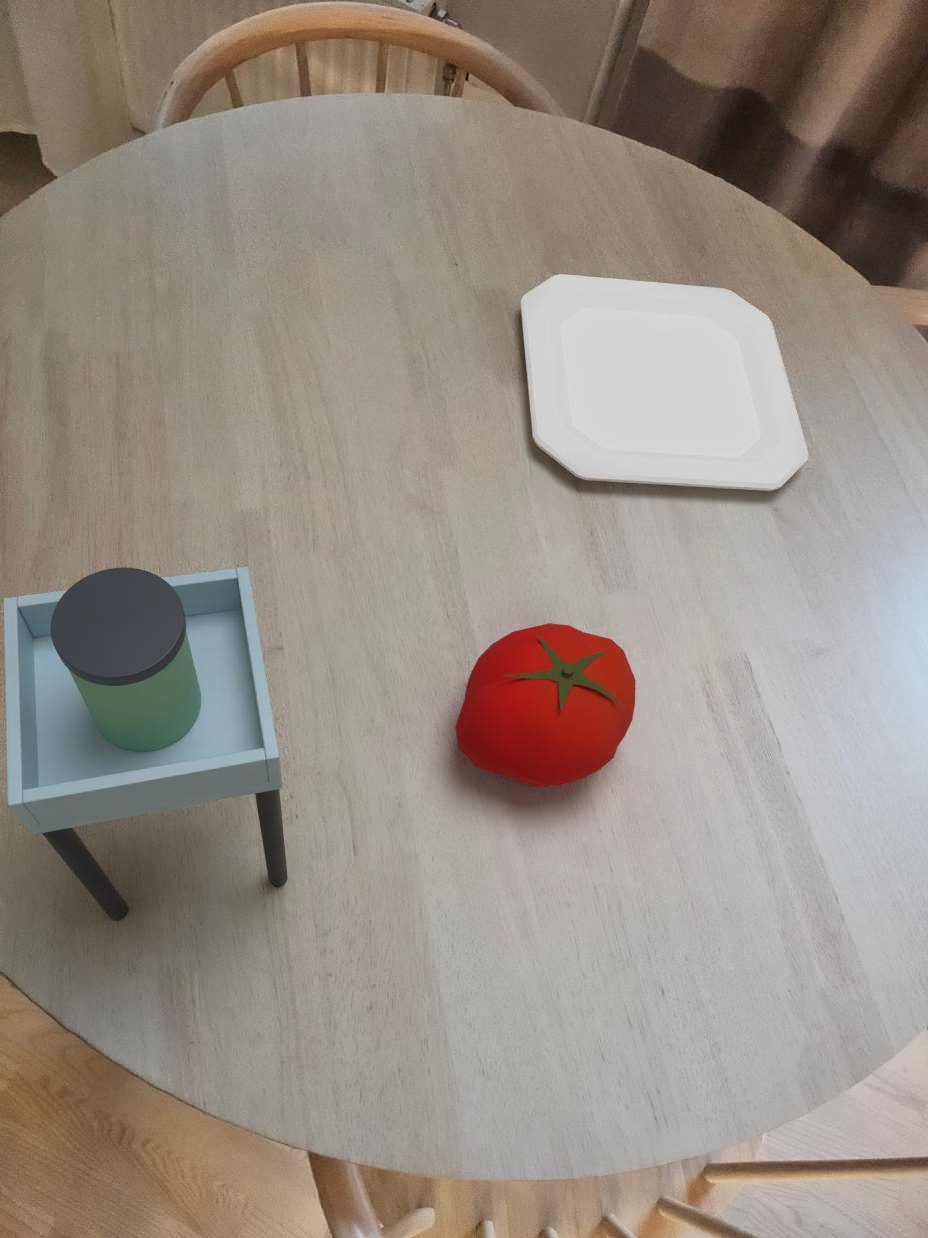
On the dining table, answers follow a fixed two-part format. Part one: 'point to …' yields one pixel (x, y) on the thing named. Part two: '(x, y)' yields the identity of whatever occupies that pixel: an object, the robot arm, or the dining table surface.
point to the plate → (658, 384)
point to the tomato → (547, 705)
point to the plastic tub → (129, 656)
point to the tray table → (128, 780)
